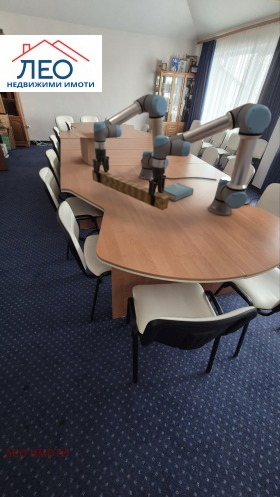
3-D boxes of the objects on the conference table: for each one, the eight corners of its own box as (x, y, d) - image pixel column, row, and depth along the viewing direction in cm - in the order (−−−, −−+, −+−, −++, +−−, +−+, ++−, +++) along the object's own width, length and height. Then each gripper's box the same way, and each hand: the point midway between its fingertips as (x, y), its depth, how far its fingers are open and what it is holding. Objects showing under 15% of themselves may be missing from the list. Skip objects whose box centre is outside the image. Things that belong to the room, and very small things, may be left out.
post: (92, 180, 168) (91, 169, 163) (98, 178, 171) (97, 168, 166) (162, 210, 133) (163, 198, 129) (167, 208, 136) (169, 196, 132)
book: (176, 188, 187) (177, 182, 184) (192, 194, 178) (193, 188, 175) (159, 194, 174) (160, 188, 171) (175, 201, 165) (176, 195, 162)
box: (116, 165, 229) (116, 136, 213) (83, 168, 214) (80, 137, 198) (102, 154, 259) (101, 128, 243) (71, 156, 244) (68, 129, 228)
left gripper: (93, 151, 144) (95, 185, 157) (113, 147, 155) (114, 180, 169) (86, 148, 147) (89, 182, 161) (106, 145, 159) (107, 177, 172)
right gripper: (153, 171, 117) (150, 210, 131) (173, 164, 128) (168, 201, 142) (143, 167, 121) (141, 206, 135) (163, 162, 132) (159, 198, 146)
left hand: (102, 181), depth 165 cm, fingers closed on post, 5 cm apart
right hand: (155, 204), depth 139 cm, fingers closed on post, 5 cm apart
